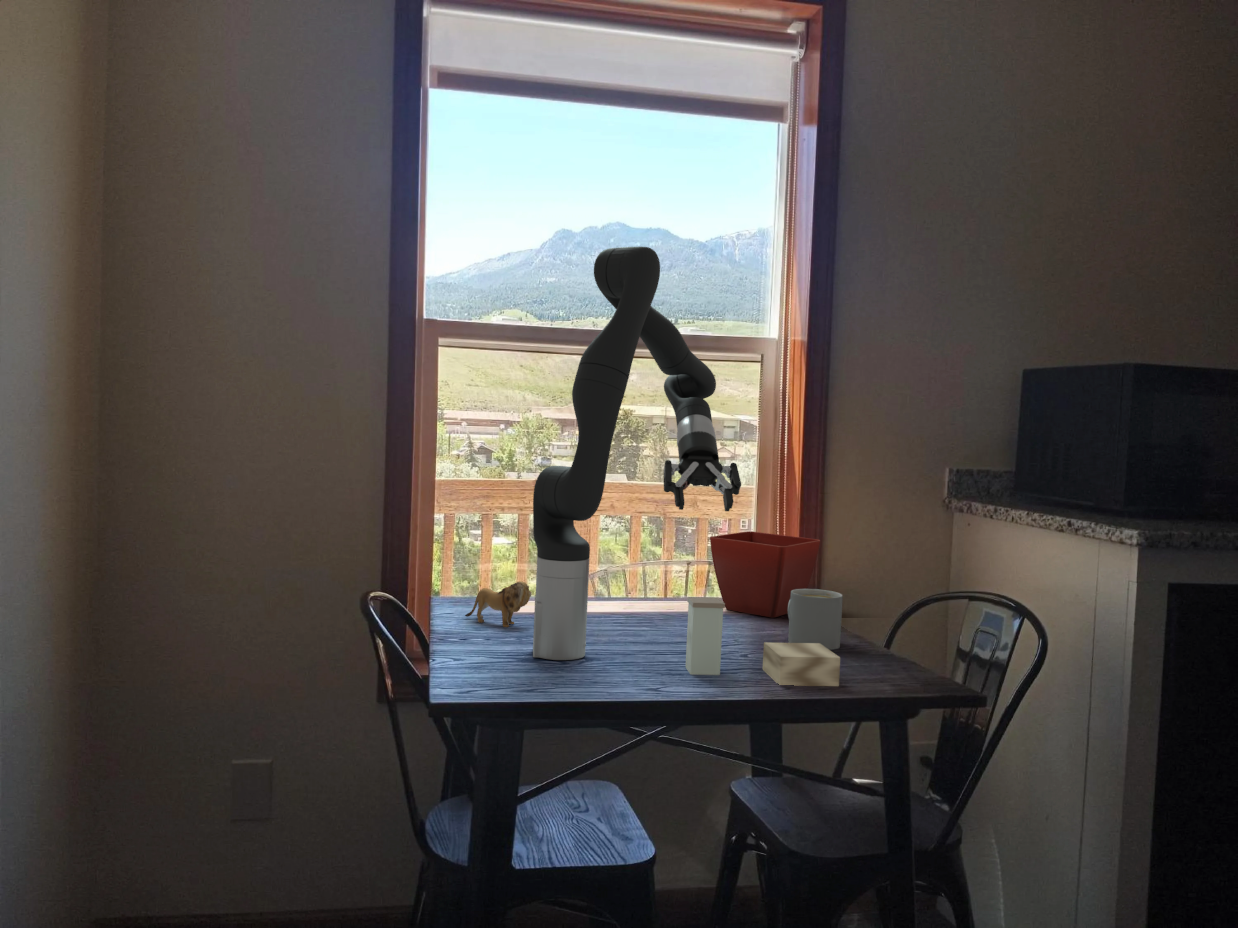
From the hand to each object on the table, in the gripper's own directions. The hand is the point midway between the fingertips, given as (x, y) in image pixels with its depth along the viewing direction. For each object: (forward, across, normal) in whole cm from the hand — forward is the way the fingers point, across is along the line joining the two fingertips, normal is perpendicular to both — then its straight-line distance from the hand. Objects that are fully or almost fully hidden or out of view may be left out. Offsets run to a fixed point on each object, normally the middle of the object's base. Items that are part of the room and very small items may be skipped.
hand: (705, 507), depth 172 cm
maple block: (+31, +14, +8) cm, 35 cm away
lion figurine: (+4, -37, +34) cm, 50 cm away
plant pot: (-10, +22, +49) cm, 54 cm away
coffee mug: (+12, +24, +27) cm, 38 cm away
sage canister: (+28, -2, +9) cm, 30 cm away
